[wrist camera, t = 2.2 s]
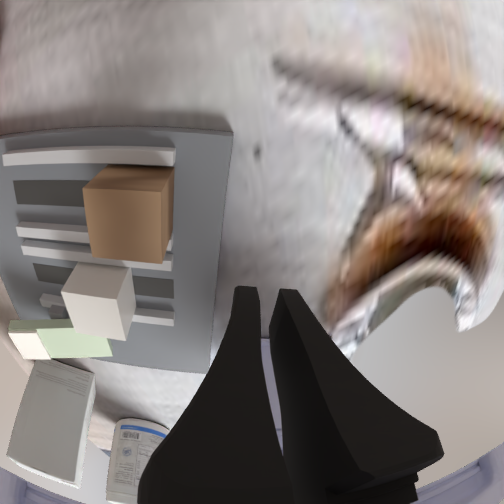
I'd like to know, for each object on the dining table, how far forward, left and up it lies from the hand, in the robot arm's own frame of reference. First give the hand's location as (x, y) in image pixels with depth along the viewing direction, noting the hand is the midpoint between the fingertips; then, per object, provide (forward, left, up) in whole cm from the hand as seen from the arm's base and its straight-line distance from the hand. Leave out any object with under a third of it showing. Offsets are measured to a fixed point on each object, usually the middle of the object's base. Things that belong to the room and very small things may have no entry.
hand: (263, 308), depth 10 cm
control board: (+12, +7, -9) cm, 16 cm away
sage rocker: (+15, +12, -6) cm, 20 cm away
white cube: (+10, +7, -8) cm, 14 cm away
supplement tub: (+12, +40, -10) cm, 43 cm away
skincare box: (+20, +25, -10) cm, 33 cm away
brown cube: (+7, 0, -8) cm, 10 cm away
